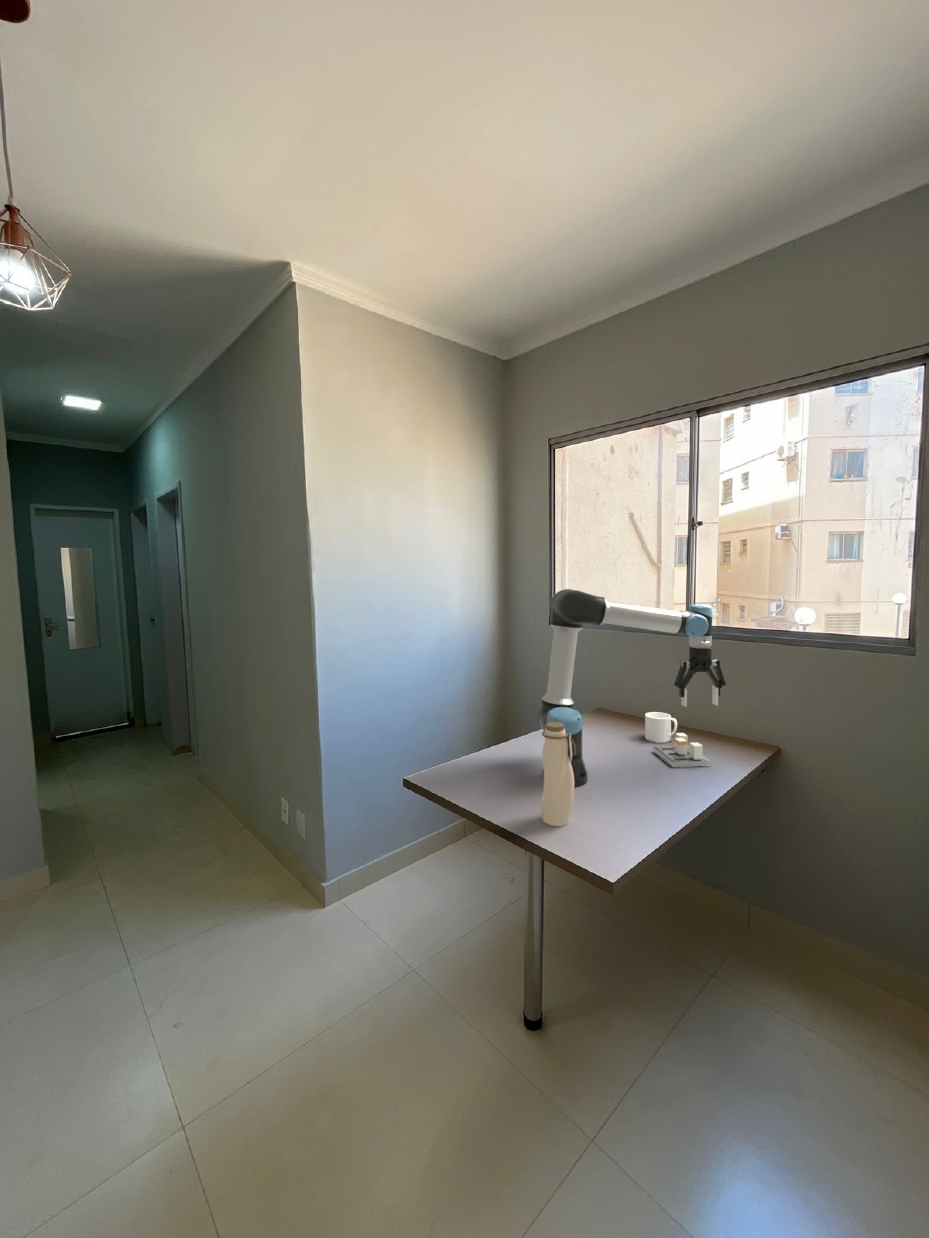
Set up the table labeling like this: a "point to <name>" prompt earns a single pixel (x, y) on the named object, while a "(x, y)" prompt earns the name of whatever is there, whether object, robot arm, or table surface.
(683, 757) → the panel
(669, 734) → the mug
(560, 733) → the water bottle
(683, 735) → the block
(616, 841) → the table surface
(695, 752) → the breaker low
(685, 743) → the block
